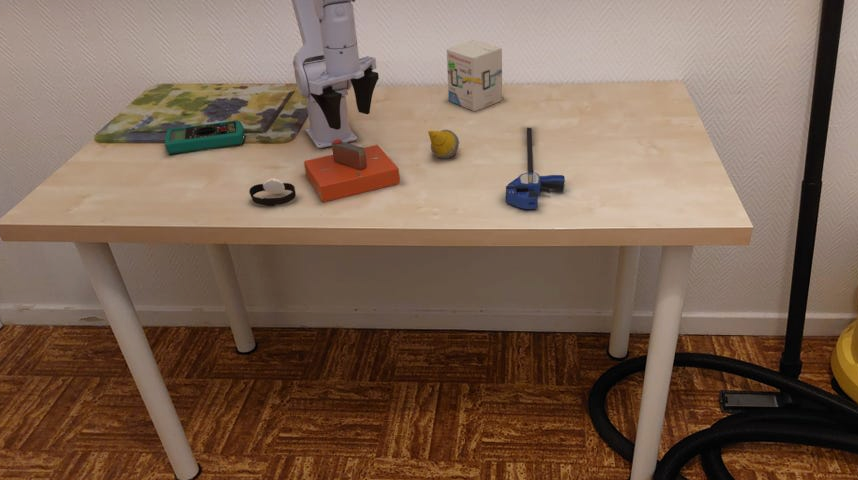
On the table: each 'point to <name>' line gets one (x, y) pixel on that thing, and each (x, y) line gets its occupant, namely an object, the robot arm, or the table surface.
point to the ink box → (474, 75)
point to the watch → (273, 192)
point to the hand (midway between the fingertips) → (349, 120)
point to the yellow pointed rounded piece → (443, 143)
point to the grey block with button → (349, 154)
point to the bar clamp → (531, 183)
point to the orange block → (351, 175)
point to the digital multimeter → (204, 136)
